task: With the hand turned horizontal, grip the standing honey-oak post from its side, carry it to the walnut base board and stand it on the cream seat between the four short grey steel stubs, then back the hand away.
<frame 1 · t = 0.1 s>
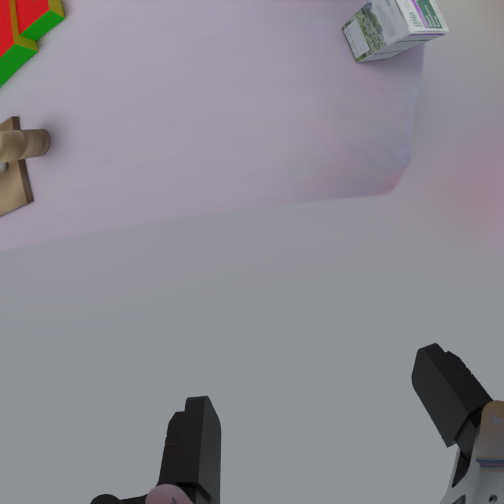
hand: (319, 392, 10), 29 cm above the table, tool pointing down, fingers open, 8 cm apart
syrup box: (364, 43, 29), on the table
oak post: (40, 142, 31), on the table
building blocks toy: (6, 39, 23), on the table
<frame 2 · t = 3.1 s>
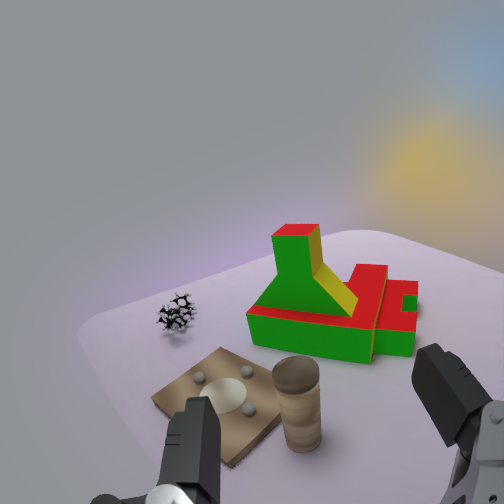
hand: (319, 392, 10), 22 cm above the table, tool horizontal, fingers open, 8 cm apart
oak post: (303, 438, 28), on the table
walnut base board: (225, 402, 35), on the table
building blocks toy: (343, 323, 47), on the table
molecular model: (185, 323, 56), on the table
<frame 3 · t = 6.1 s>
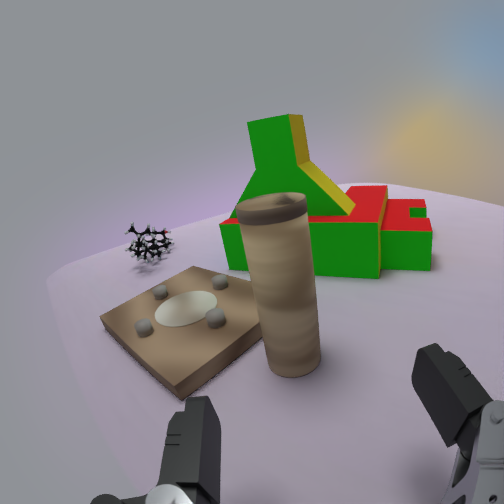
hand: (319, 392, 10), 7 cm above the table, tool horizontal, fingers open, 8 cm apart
oak post: (294, 358, 21), on the table
walnut base board: (190, 321, 28), on the table
building blocks toy: (339, 247, 40), on the table
molecular model: (160, 258, 49), on the table
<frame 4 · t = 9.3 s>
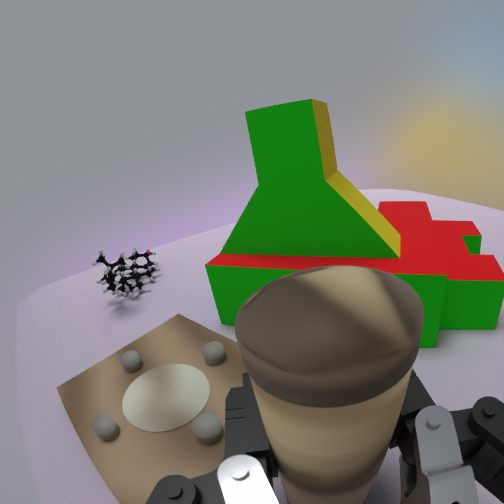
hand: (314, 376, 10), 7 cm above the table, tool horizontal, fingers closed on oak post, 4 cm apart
oak post: (327, 494, 10), on the table, touching gripper
walnut base board: (172, 409, 18), on the table
building blocks toy: (370, 287, 29), on the table
molecular model: (141, 289, 38), on the table
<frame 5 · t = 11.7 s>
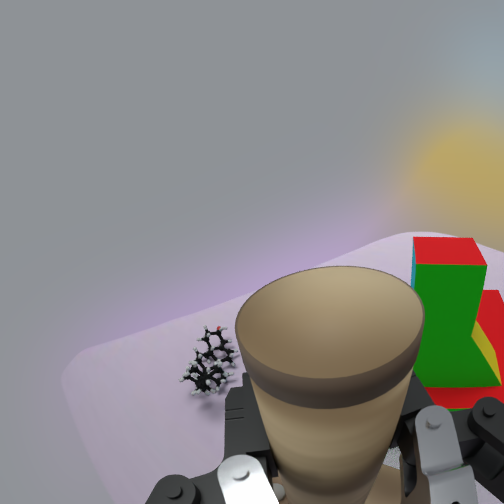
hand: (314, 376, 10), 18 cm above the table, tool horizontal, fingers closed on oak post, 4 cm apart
oak post: (328, 494, 10), point 11 cm above the table, touching gripper
building blocks toy: (452, 379, 25), on the table
molecular model: (222, 375, 35), on the table
when the fingers open (9 cm above the table, at t = 14.1 s): oak post stays where it is, resting on walnut base board.
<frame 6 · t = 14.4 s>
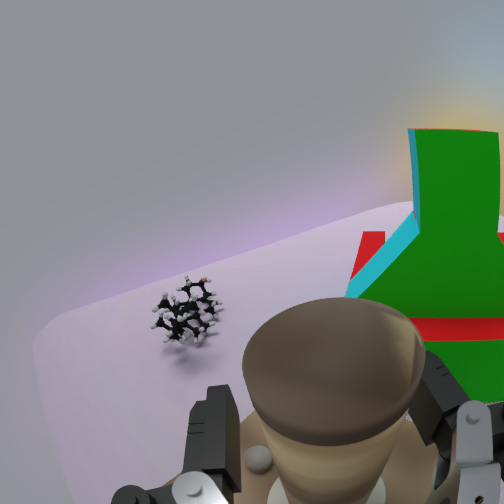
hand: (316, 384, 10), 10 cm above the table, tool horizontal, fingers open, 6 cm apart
oak post: (328, 499, 11), point 2 cm above the table, touching walnut base board
building blocks toy: (470, 331, 22), on the table
molecular model: (203, 329, 32), on the table
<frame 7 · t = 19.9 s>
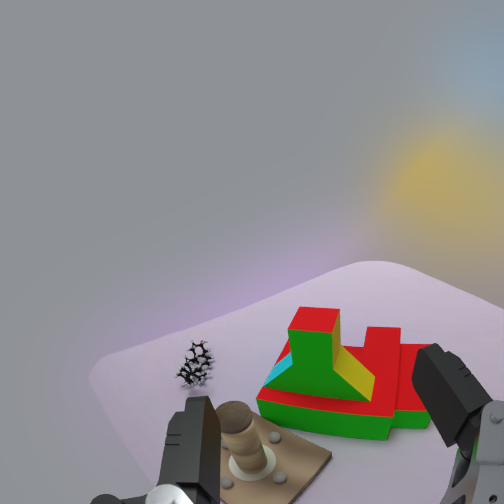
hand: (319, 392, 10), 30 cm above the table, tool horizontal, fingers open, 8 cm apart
oak post: (252, 462, 31), point 2 cm above the table, touching walnut base board
walnut base board: (254, 466, 32), on the table
building blocks toy: (354, 391, 42), on the table, touching walnut base board
molecular model: (203, 374, 53), on the table
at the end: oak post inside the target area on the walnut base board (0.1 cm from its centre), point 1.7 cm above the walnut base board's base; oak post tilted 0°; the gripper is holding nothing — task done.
